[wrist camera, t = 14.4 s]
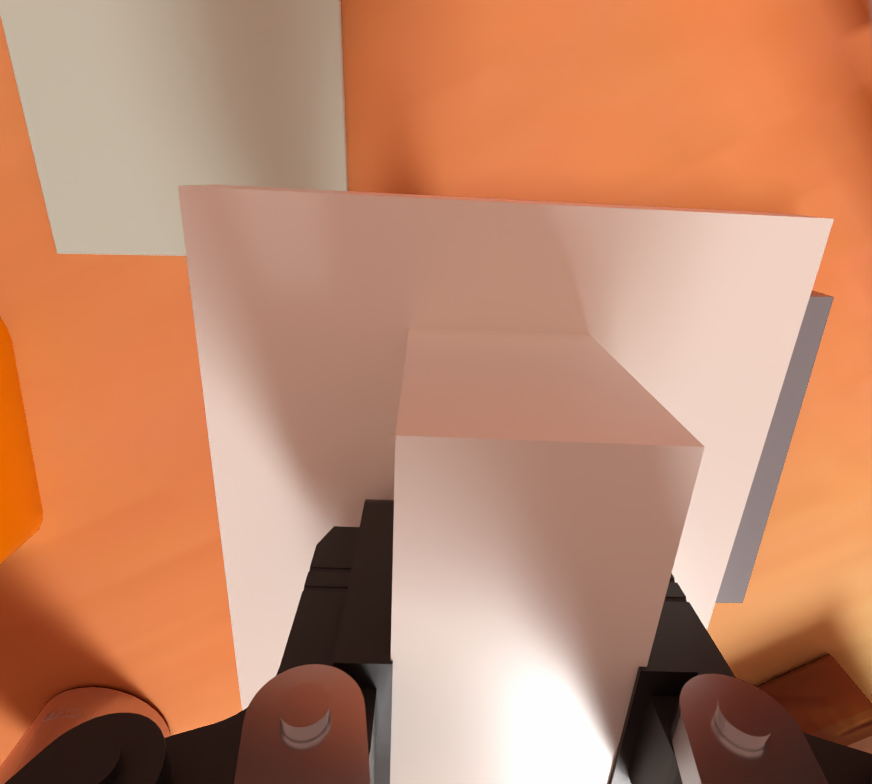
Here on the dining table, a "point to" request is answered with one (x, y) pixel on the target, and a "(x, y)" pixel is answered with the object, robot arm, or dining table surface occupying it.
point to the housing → (774, 451)
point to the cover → (490, 439)
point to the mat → (173, 108)
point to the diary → (825, 703)
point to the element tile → (15, 459)
